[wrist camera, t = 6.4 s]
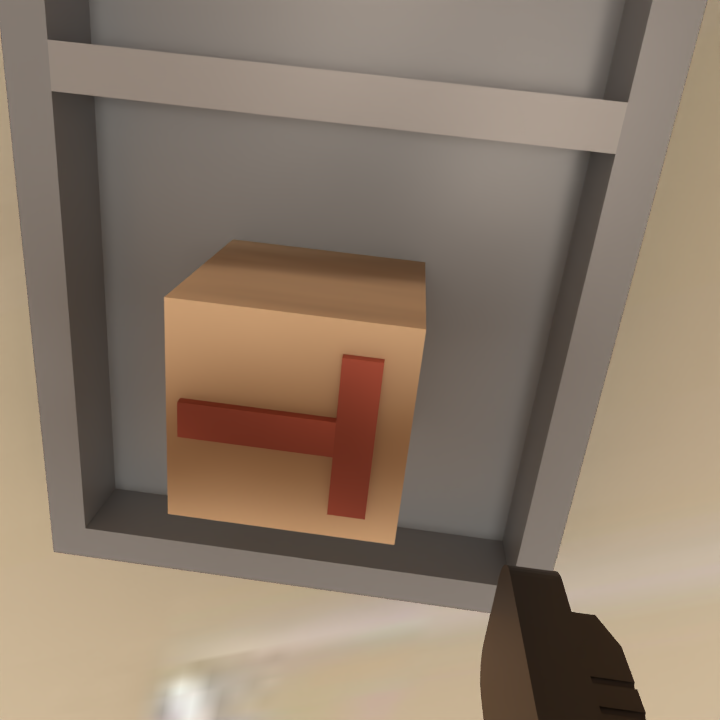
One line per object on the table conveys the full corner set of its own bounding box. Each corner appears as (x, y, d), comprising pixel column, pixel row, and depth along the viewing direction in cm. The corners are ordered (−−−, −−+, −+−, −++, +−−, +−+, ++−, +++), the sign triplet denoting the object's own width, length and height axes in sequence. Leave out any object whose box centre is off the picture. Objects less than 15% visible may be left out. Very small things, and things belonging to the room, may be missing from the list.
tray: (13, -753, 12) (-104, -990, 9) (836, -704, 11) (962, -944, 8) (97, 496, 22) (53, 551, 19) (525, 555, 21) (539, 620, 19)
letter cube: (232, 239, 17) (160, 300, 12) (425, 262, 17) (426, 333, 12) (228, 409, 19) (164, 519, 14) (400, 432, 19) (394, 550, 14)
